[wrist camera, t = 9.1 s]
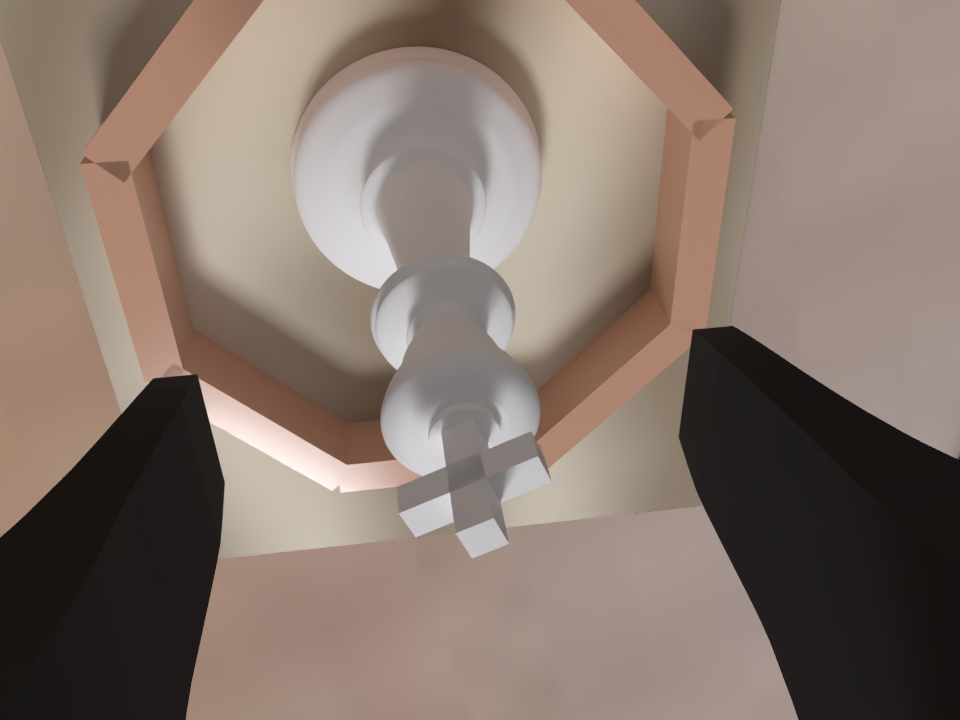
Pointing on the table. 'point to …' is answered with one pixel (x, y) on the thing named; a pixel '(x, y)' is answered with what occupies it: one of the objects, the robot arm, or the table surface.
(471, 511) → the chess piece
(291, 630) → the table surface
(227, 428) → the ring collar
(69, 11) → the birch board
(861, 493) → the robot arm
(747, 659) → the table surface
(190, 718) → the table surface
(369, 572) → the table surface
